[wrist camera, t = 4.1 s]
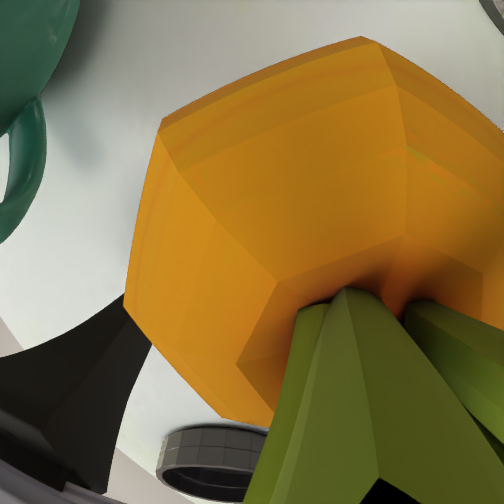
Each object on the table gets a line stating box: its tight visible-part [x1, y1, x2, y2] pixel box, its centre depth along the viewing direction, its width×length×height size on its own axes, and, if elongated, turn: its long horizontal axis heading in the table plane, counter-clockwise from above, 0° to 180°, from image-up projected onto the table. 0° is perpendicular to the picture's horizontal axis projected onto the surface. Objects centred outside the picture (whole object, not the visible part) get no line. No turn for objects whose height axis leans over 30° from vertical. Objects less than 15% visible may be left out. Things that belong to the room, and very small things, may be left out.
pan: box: [156, 427, 267, 504], centre depth 24 cm, size 13×13×4 cm
